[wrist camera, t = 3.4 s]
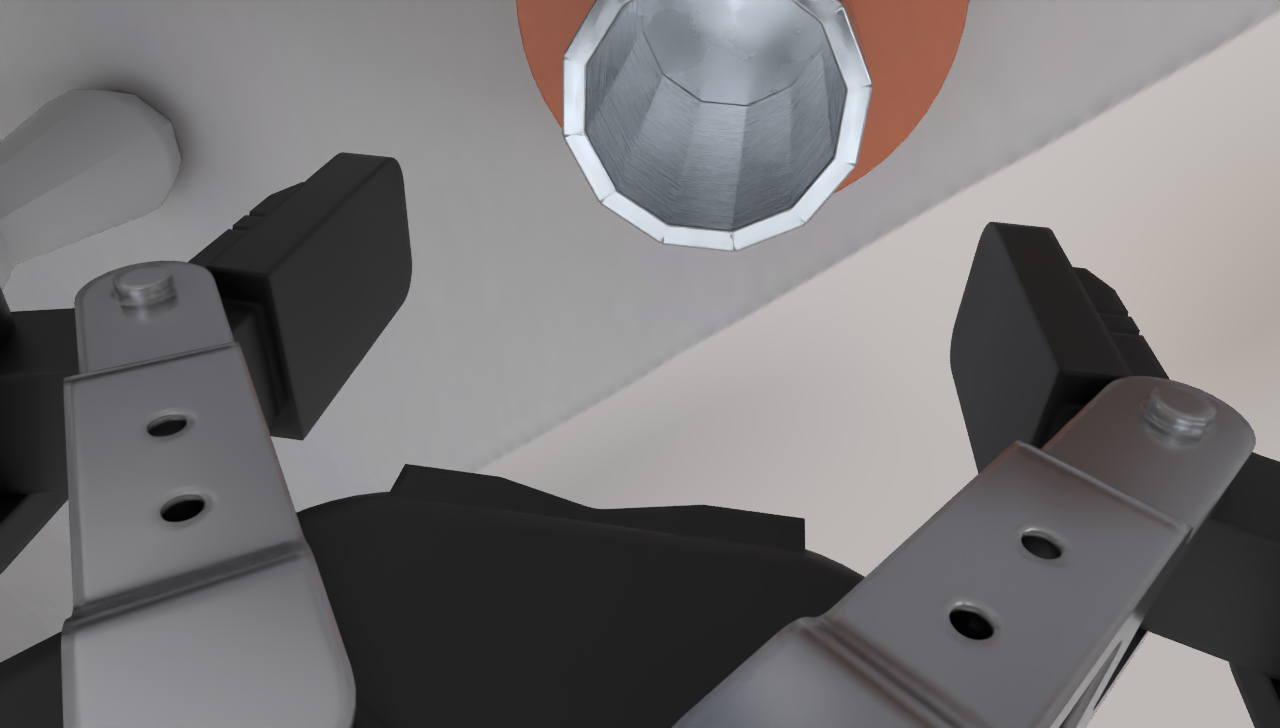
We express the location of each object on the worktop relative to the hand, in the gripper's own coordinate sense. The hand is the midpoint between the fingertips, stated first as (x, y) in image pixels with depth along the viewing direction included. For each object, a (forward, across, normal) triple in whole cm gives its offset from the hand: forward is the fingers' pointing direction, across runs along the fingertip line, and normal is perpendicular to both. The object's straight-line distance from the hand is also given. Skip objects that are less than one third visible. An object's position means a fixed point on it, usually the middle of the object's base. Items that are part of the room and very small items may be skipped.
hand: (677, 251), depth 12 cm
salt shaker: (+25, +27, +10) cm, 38 cm away
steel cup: (+15, 0, 0) cm, 15 cm away
